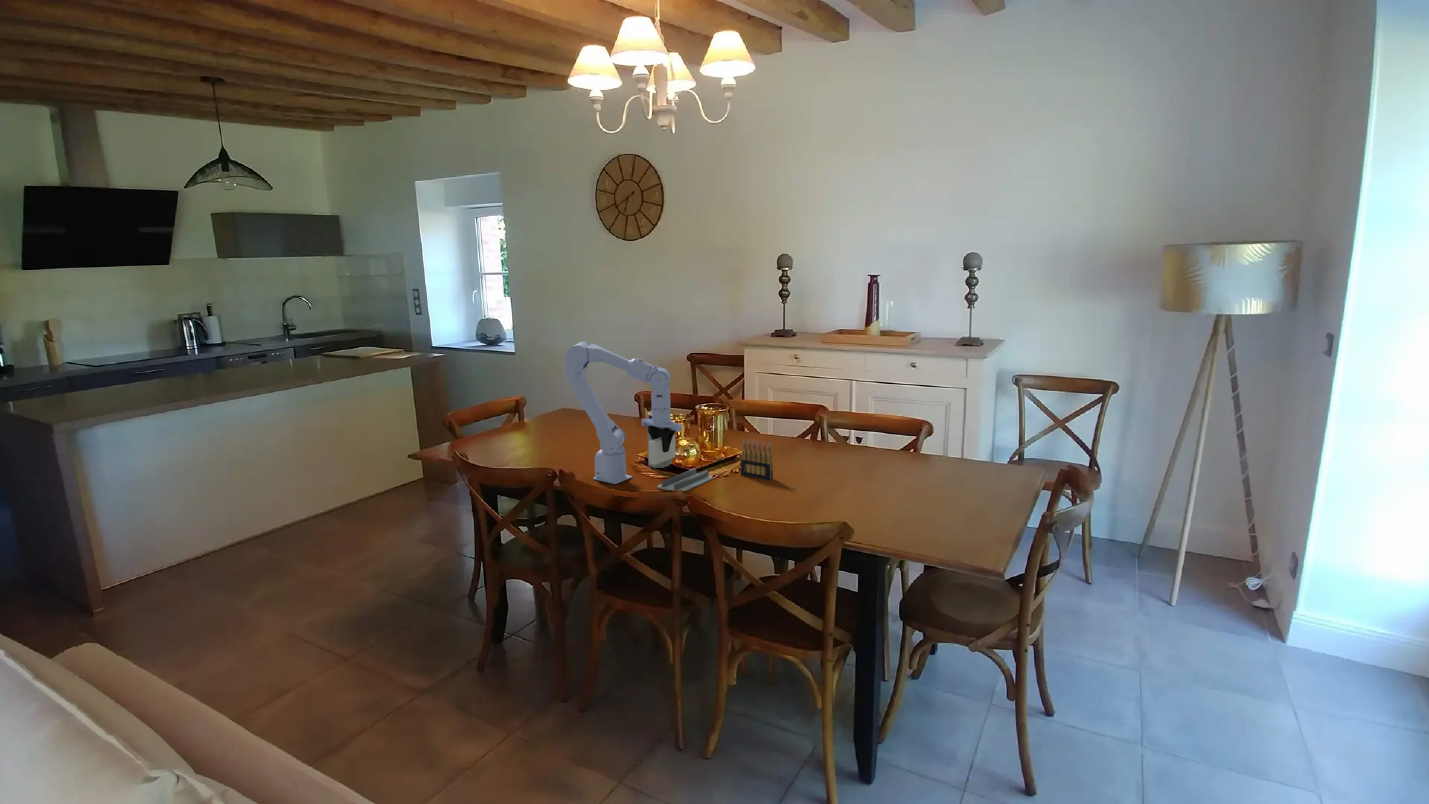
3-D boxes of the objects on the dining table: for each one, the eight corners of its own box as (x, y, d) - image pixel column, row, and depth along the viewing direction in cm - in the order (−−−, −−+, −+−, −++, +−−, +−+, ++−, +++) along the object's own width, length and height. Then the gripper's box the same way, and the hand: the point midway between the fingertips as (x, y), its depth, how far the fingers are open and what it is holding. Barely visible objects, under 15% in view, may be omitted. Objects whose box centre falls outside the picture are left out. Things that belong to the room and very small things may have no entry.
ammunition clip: (740, 474, 230) (740, 438, 228) (743, 473, 232) (743, 436, 229) (770, 480, 224) (770, 442, 222) (773, 478, 226) (773, 441, 223)
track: (657, 487, 219) (657, 481, 219) (689, 473, 232) (689, 467, 231) (681, 493, 214) (681, 486, 214) (712, 478, 227) (712, 472, 226)
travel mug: (671, 469, 237) (670, 415, 233) (647, 469, 237) (645, 415, 234) (673, 461, 245) (672, 409, 241) (650, 462, 245) (648, 410, 241)
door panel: (649, 463, 222) (648, 441, 221) (669, 455, 230) (669, 434, 229) (655, 464, 221) (654, 442, 219) (675, 456, 229) (675, 435, 227)
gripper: (687, 408, 221) (688, 451, 224) (651, 402, 229) (652, 444, 232) (673, 412, 215) (674, 456, 218) (636, 407, 224) (637, 449, 226)
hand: (662, 450), depth 225 cm, fingers closed on door panel, 2 cm apart
